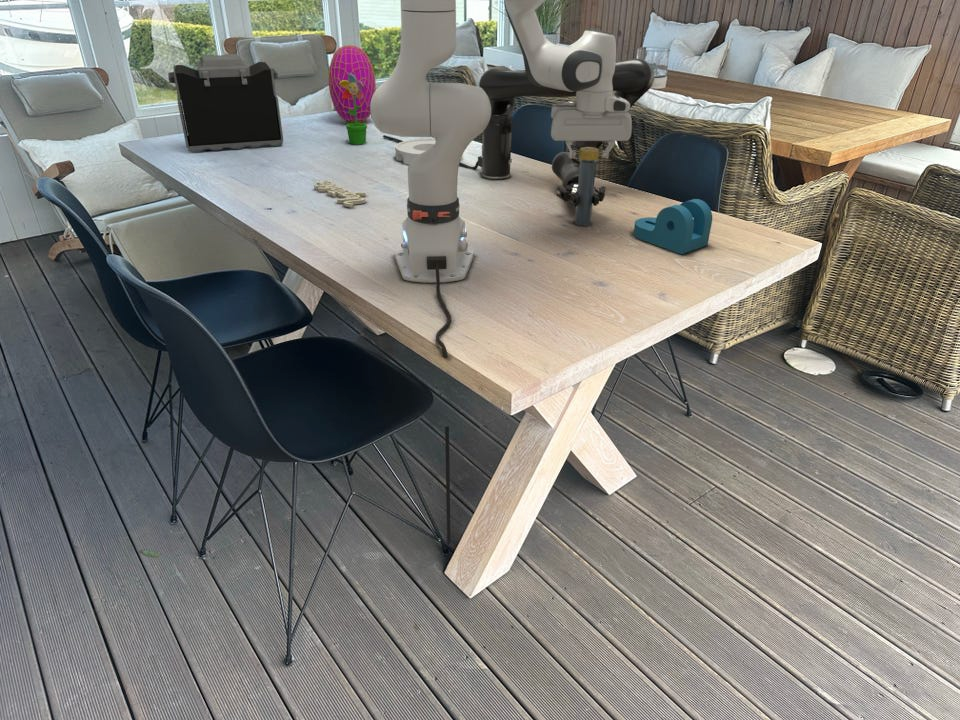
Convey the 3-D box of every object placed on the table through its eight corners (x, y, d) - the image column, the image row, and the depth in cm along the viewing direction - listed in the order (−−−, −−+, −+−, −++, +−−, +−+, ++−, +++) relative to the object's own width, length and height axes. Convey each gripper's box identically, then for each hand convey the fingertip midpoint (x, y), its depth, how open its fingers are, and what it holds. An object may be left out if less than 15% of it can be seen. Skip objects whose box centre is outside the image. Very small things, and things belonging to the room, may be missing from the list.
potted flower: (342, 144, 260) (336, 73, 247) (351, 139, 266) (346, 70, 254) (365, 146, 257) (360, 74, 245) (374, 141, 264) (369, 71, 251)
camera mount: (707, 244, 172) (715, 204, 167) (681, 254, 167) (689, 212, 161) (650, 225, 184) (656, 186, 179) (624, 233, 179) (629, 194, 173)
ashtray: (454, 167, 232) (454, 155, 230) (388, 164, 235) (387, 152, 233) (466, 151, 252) (466, 140, 250) (404, 148, 255) (404, 137, 253)
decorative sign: (378, 198, 199) (347, 205, 194) (378, 202, 199) (348, 208, 194) (336, 178, 217) (306, 183, 211) (336, 181, 217) (307, 186, 212)
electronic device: (280, 133, 274) (270, 51, 259) (288, 146, 256) (277, 59, 241) (182, 140, 262) (165, 54, 247) (183, 153, 245) (164, 62, 229)
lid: (582, 161, 175) (583, 152, 174) (576, 156, 179) (576, 147, 178) (601, 160, 176) (602, 151, 174) (594, 155, 180) (595, 146, 179)
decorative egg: (362, 116, 305) (357, 42, 290) (386, 123, 292) (382, 46, 277) (324, 121, 294) (316, 45, 279) (347, 129, 281) (340, 49, 266)
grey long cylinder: (592, 225, 185) (599, 154, 175) (577, 226, 184) (583, 155, 174) (587, 220, 188) (594, 150, 179) (572, 220, 188) (578, 151, 178)
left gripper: (553, 104, 167) (550, 161, 174) (636, 104, 168) (629, 161, 175) (550, 99, 173) (546, 155, 180) (630, 99, 173) (624, 155, 180)
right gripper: (552, 170, 193) (560, 188, 178) (603, 170, 193) (615, 188, 179) (551, 196, 197) (558, 215, 182) (600, 196, 197) (612, 216, 182)
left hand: (588, 158), depth 177 cm, fingers open, 7 cm apart
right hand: (586, 202), depth 180 cm, fingers closed on grey long cylinder, 4 cm apart
